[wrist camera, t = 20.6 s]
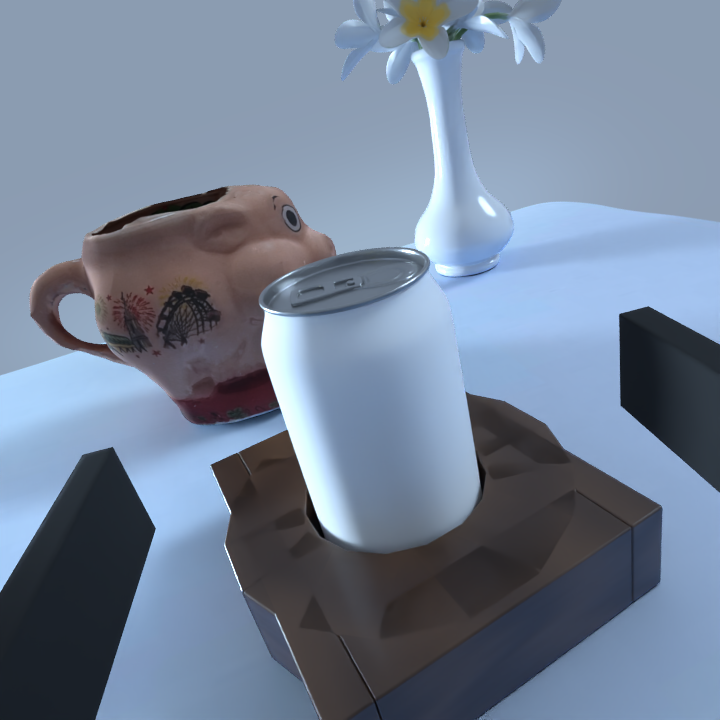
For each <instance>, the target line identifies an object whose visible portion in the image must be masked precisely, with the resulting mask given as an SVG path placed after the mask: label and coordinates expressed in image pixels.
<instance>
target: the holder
mask: <svg viewBox="0 0 720 720" xmlns="http://www.w3.org/2000/svg"><path fill="white" fill-rule="evenodd" d="M465 392H466V391H465ZM466 398H467V405H468V411H469V417H470V423H471V429H472V435H473V441H474V447H475V453H476V459H477V465H478V472H479V478H480V484H481V490H482V500H481V501H480V502H479V504H478V505H477V506H476V507H475V509H474V510H473V511H472V512H471V514H470V515H469V516H468V518H467V519H466V520H465V521H464V523H463V524H461V525H459V526H458V527H456V528H454V529H453V530H451V531H449V532H447V533H446V534H444V535H442V536H441V537H439V538H437V539H436V540H434V541H432V542H430V543H429V544H427V545H423V546H419V547H414V548H410V549H406V550H401V551H397V552H393V553H388V554H381V553H370V552H358V551H347V550H345V549H343V548H341V547H339V546H337V545H335V544H333V543H332V542H330V541H328V540H326V539H325V537H324V534H323V531H322V528H321V525H320V522H319V520H318V517H317V514H316V511H315V508H314V505H313V502H312V499H311V496H310V493H309V491H308V488H307V485H306V482H305V479H304V476H303V473H302V470H301V467H300V464H299V461H298V458H297V456H296V453H295V450H294V447H293V444H292V441H291V438H290V435H289V432H288V430H286V431H283V432H281V433H279V434H277V435H275V436H273V437H270V438H268V439H266V440H264V441H262V442H260V443H257V444H255V445H253V446H251V447H249V448H246V449H244V450H242V451H240V452H239V454H238V453H236V454H233V455H231V456H229V457H227V458H225V459H222V460H220V461H218V462H216V463H214V464H212V465H210V468H211V470H212V472H213V475H214V477H215V479H216V482H217V484H218V486H219V489H220V491H221V493H222V496H223V498H224V500H225V503H226V505H227V507H228V509H229V512H230V519H229V524H228V529H227V534H226V538H225V543H224V545H225V546H224V547H225V549H226V552H227V555H228V557H229V560H230V562H231V565H232V568H233V570H234V573H235V576H236V578H237V581H238V584H239V586H240V589H241V591H242V594H243V596H244V598H245V600H246V602H247V605H248V607H249V609H250V611H251V613H252V615H253V617H254V620H255V622H256V624H257V626H258V628H259V630H260V633H261V635H262V637H263V639H264V641H265V643H266V645H267V648H268V650H269V652H270V654H271V656H272V657H273V658H274V659H275V660H276V661H277V662H278V663H280V664H281V665H282V666H283V667H285V668H286V669H287V670H288V671H290V672H291V673H292V674H293V675H295V676H296V677H297V678H298V679H300V680H301V681H302V682H303V683H304V685H305V687H306V690H307V692H308V694H309V697H310V699H311V701H312V703H313V706H314V708H315V710H316V713H317V715H318V717H319V720H475V719H476V718H478V717H479V716H480V715H482V714H483V713H484V712H486V711H487V710H488V709H490V708H491V707H492V706H494V705H495V704H496V703H498V702H499V701H501V700H502V699H503V698H505V697H506V696H507V695H509V694H510V693H511V692H513V691H514V690H515V689H517V688H518V687H519V686H521V685H522V684H523V683H525V682H526V681H528V680H529V679H530V678H532V677H533V676H534V675H536V674H537V673H538V672H540V671H541V670H542V669H544V668H545V667H546V666H548V665H549V664H551V663H552V662H553V661H555V660H556V659H557V658H559V657H560V656H561V655H563V654H564V653H565V652H567V651H568V650H569V649H571V648H572V647H574V646H575V645H576V644H578V643H579V642H580V641H582V640H583V639H584V638H586V637H587V636H588V635H590V634H591V633H592V632H594V631H595V630H596V629H598V628H599V627H601V626H602V625H603V624H605V623H606V622H607V621H609V620H610V619H611V618H613V617H614V616H615V615H617V614H618V613H619V612H621V611H622V610H624V609H625V608H626V607H628V606H629V605H630V604H631V603H632V602H634V601H635V600H637V599H638V598H639V597H641V596H642V595H644V594H645V593H646V592H648V591H649V590H650V589H652V588H653V587H654V586H656V585H657V584H658V583H660V574H661V540H662V506H661V505H659V504H657V503H656V502H654V501H652V500H650V499H649V498H647V497H645V496H644V495H642V494H640V493H638V492H637V491H635V490H633V489H632V488H630V487H628V486H627V485H625V484H623V483H621V482H620V481H618V480H616V479H615V478H613V477H611V476H609V475H608V474H606V473H604V472H603V471H601V470H599V469H597V468H596V467H594V466H592V465H591V464H589V463H587V462H585V461H584V460H582V459H580V458H579V457H577V456H575V455H573V454H572V453H570V452H568V451H567V450H565V449H564V448H563V447H562V446H561V444H560V443H559V442H558V440H557V439H556V437H555V436H554V435H553V433H552V432H551V431H550V429H549V428H548V426H547V425H546V424H545V423H543V422H541V421H539V420H537V419H536V418H534V417H532V416H530V415H528V414H526V413H525V412H523V411H521V410H519V409H517V408H516V407H514V406H512V405H510V404H508V403H507V402H505V401H501V400H496V399H491V398H486V397H481V396H476V395H471V394H469V393H467V392H466Z"/></svg>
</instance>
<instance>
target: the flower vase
mask: <svg viewBox="0 0 720 720" xmlns="http://www.w3.org/2000/svg"><path fill="white" fill-rule="evenodd" d="M560 3H561V0H519V1H518V2H517V4H516V5H515V7H514V8H513V9H512V7H511V6H510V5H508V4H506V3H505V2H502V1H487V2H485V3H484V2H483V0H384V8H382V9H376V6H375V0H353V5H354V10H355V12H356V15H357V16H358V17H359V18H360V19H361V20H362V21H363V22H362V21H358V20H347V21H345V22H343V23H342V24H341V25H340V26H339V28H338V29H337V31H336V33H335V44H336V46H337V47H339V48H342V49H348V48H358V49H355V50H353V51H351V53H350V54H349V55H348V57H347V59H346V61H345V63H344V66H343V69H342V74H341V80H342V81H343V80H345V79H346V77H347V76H348V75H349V74H350V72H351V71H352V70H353V68H354V67H355V66H356V64H357V63H358V62H359V61H360V60H361V59H362V58H363V57H364V56H365V55H366V54H367V53H368V52H369V51H373V52H390V51H394V52H393V53H392V54H391V55H390V57H389V59H388V63H387V68H386V73H387V79H388V82H389V83H391V84H396V83H398V82H399V81H400V80H401V79H402V77H403V76H404V74H405V73H406V70H407V68H408V66H409V63H410V61H412V62H413V63H414V64H415V66H416V68H417V71H418V73H419V76H420V79H421V82H422V85H423V89H424V92H425V96H426V101H427V106H428V111H429V117H430V124H431V134H432V141H433V151H434V163H435V179H434V187H433V191H432V196H431V200H430V203H429V205H428V207H427V209H426V210H425V212H424V213H423V215H422V216H421V218H420V220H419V222H418V224H417V226H416V230H415V237H414V241H415V245H416V248H417V250H419V251H421V252H423V253H425V254H426V255H427V256H428V257H429V260H430V261H431V262H432V263H435V264H436V266H435V268H436V270H437V272H438V273H439V274H441V275H444V276H452V277H457V276H468V275H473V274H478V273H481V272H484V271H487V270H489V269H491V268H493V267H494V266H496V265H497V264H498V263H499V261H500V254H499V252H500V251H502V250H503V248H504V247H505V246H506V245H507V244H508V242H509V241H510V239H511V237H512V235H513V232H514V222H513V218H512V216H511V213H510V212H509V210H508V209H507V208H506V207H505V205H504V204H503V203H502V202H500V201H499V200H498V199H496V198H495V197H494V196H493V195H491V194H490V193H489V192H488V191H487V189H486V188H485V186H484V185H483V183H482V182H481V180H480V178H479V176H478V174H477V172H476V169H475V166H474V163H473V160H472V155H471V151H470V146H469V141H468V134H467V129H466V122H465V116H464V109H463V102H462V88H461V67H462V55H463V51H464V49H465V45H466V47H467V48H468V49H469V50H470V51H471V52H473V53H480V52H481V51H482V50H483V48H484V44H485V39H484V34H483V32H485V33H491V34H494V35H497V36H500V37H503V38H506V39H509V37H508V35H507V34H506V33H505V32H504V31H503V30H502V29H501V28H500V26H498V25H499V24H502V23H505V22H507V21H509V22H510V25H511V29H512V33H513V39H514V46H515V60H516V63H517V64H519V63H520V62H521V60H522V58H523V55H524V50H525V48H524V45H525V46H526V47H527V49H528V51H529V52H530V54H531V56H532V57H533V59H534V60H535V61H536V62H537V63H541V62H542V61H543V58H544V54H545V44H544V38H543V35H542V33H541V31H540V29H539V28H538V27H537V26H535V25H533V24H531V23H538V22H542V21H544V20H546V19H548V18H549V17H550V16H552V15H553V14H554V12H555V11H556V10H557V8H558V7H559V5H560ZM376 11H378V12H382V13H385V14H386V16H387V18H388V20H389V22H388V23H387V24H386V25H385V26H380V24H379V20H378V17H377V12H376ZM460 38H462V39H460Z"/></svg>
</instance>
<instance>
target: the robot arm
mask: <svg viewBox="0 0 720 720" xmlns="http://www.w3.org/2000/svg"><path fill="white" fill-rule="evenodd" d="M619 328H620V399H621V406H622V407H623V408H624V409H625V410H626V411H627V412H629V413H630V414H631V415H632V416H633V417H634V418H635V419H637V420H638V421H639V422H640V423H641V424H642V425H643V426H644V427H646V428H647V429H648V430H649V431H650V432H651V433H652V434H654V435H655V436H656V437H657V438H658V439H659V440H660V441H662V442H663V443H664V444H665V445H666V446H667V447H668V448H670V449H671V450H672V451H673V452H674V453H675V454H676V455H678V456H679V457H680V458H681V459H682V460H683V461H684V462H685V463H687V464H688V465H689V466H690V467H691V468H692V469H693V470H695V471H696V472H697V473H698V474H699V475H700V476H701V477H703V478H704V479H705V480H706V481H707V482H708V483H709V484H711V485H712V486H713V487H714V488H715V489H716V490H717V491H719V492H720V344H718V343H716V342H714V341H712V340H710V339H708V338H706V337H705V336H703V335H701V334H699V333H697V332H695V331H693V330H692V329H690V328H688V327H686V326H684V325H682V324H680V323H678V322H677V321H675V320H673V319H671V318H669V317H667V316H665V315H664V314H662V313H660V312H658V311H656V310H654V309H652V308H650V307H649V306H648V307H644V308H641V309H637V310H633V311H629V312H625V313H621V314H619ZM155 529H156V528H155V526H154V525H153V523H152V521H151V519H150V517H149V515H148V513H147V511H146V509H145V507H144V506H143V504H142V502H141V500H140V498H139V496H138V494H137V492H136V490H135V488H134V487H133V485H132V483H131V481H130V479H129V477H128V475H127V473H126V471H125V469H124V468H123V466H122V464H121V462H120V460H119V458H118V456H117V454H116V452H115V450H114V449H113V447H111V448H107V449H104V450H100V451H96V452H92V453H88V454H84V455H82V457H81V459H80V460H79V462H78V464H77V465H76V467H75V469H74V470H73V472H72V474H71V475H70V477H69V479H68V480H67V482H66V484H65V485H64V487H63V489H62V490H61V492H60V494H59V495H58V497H57V499H56V500H55V502H54V504H53V505H52V507H51V509H50V510H49V512H48V514H47V515H46V517H45V519H44V520H43V522H42V524H41V525H40V527H39V529H38V530H37V532H36V534H35V535H34V537H33V539H32V540H31V542H30V544H29V545H28V547H27V549H26V550H25V552H24V554H23V555H22V557H21V559H20V560H19V562H18V564H17V565H16V567H15V569H14V570H13V572H12V574H11V575H10V577H9V579H8V580H7V582H6V584H5V585H4V587H3V589H2V590H1V592H0V720H95V718H96V715H97V712H98V709H99V706H100V703H101V699H102V696H103V693H104V690H105V687H106V684H107V681H108V677H109V674H110V671H111V668H112V665H113V662H114V658H115V655H116V652H117V649H118V646H119V643H120V640H121V636H122V633H123V630H124V627H125V624H126V621H127V618H128V614H129V611H130V608H131V605H132V602H133V599H134V595H135V592H136V589H137V586H138V583H139V580H140V577H141V573H142V570H143V567H144V564H145V561H146V558H147V555H148V551H149V548H150V545H151V542H152V539H153V536H154V533H155Z"/></svg>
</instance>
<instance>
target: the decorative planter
mask: <svg viewBox="0 0 720 720" xmlns="http://www.w3.org/2000/svg"><path fill="white" fill-rule="evenodd" d="M333 256H336V250H335V246H334V244H333V242H332V240H331V239H330V238H329V237H327V236H326V235H325V234H322V233H319V232H317V231H315V230H312V229H311V228H310V227H308V226H307V225H306V224H305V223H304V222H303V220H302V219H301V217H300V216H299V214H298V212H297V210H296V208H295V207H294V205H293V203H292V201H291V200H290V198H289V197H288V196H287V195H286V194H285V193H284V192H283V191H282V190H280V189H279V188H276V187H268V186H260V185H243V186H227V187H222V188H218V189H215V190H211V191H208V192H206V193H203V194H197V195H193V196H189V197H184V198H180V199H176V200H172V201H167V202H162V203H158V204H154V205H150V206H147V207H144V208H141V209H139V210H136V211H133V212H131V213H128V214H126V215H124V216H121V217H119V218H117V219H114V220H112V221H110V222H107V223H106V224H104V225H102V226H100V227H99V228H97V229H96V230H94V231H92V232H90V233H87V234H86V235H85V238H84V242H83V248H82V258H80V259H76V260H72V261H66V262H63V263H60V264H57V265H54V266H52V267H51V268H50V269H48V270H46V271H45V272H44V273H42V274H41V275H40V276H39V277H38V278H37V279H36V280H35V282H34V283H33V285H32V287H31V291H30V311H31V317H32V318H33V319H34V321H35V322H36V323H37V325H38V326H39V327H40V329H41V330H42V331H43V332H44V333H45V334H46V335H47V336H48V337H50V338H51V339H52V340H53V341H54V342H55V343H57V344H58V345H60V346H62V347H65V348H69V349H72V350H78V351H83V352H86V353H89V354H92V355H95V356H99V357H102V358H106V359H108V360H110V361H113V362H116V363H120V364H125V365H128V366H131V367H135V368H137V369H138V370H140V371H141V372H143V373H144V374H145V375H147V376H148V377H149V378H150V379H152V380H153V381H154V382H155V383H156V384H158V385H159V386H160V387H161V388H162V389H163V390H164V391H165V392H166V393H167V394H168V395H169V397H170V398H171V399H172V400H173V401H174V402H175V403H176V404H177V405H178V407H179V408H180V410H181V412H182V414H183V415H184V417H185V418H186V419H187V420H189V421H190V422H191V423H194V424H199V425H215V424H226V423H233V422H238V421H242V420H245V419H248V418H251V417H254V416H258V415H261V414H264V413H268V412H271V411H273V410H276V409H278V408H280V406H279V403H278V400H277V397H276V394H275V391H274V388H273V385H272V382H271V379H270V376H269V373H268V369H267V366H266V363H265V360H264V356H263V352H262V347H261V340H262V331H263V325H264V318H265V311H264V310H263V309H262V308H261V306H260V304H259V297H260V294H261V293H262V291H263V290H264V289H265V288H266V287H267V286H268V285H269V284H271V283H272V282H273V281H275V280H276V279H278V278H280V277H281V276H283V275H285V274H287V273H289V272H291V271H293V270H295V269H298V268H300V267H302V266H305V265H308V264H310V263H313V262H316V261H319V260H322V259H326V258H329V257H333ZM72 293H82V294H86V295H88V296H90V297H92V298H93V299H94V300H95V317H96V322H97V326H98V328H99V331H100V333H101V335H102V337H103V339H104V340H105V342H106V344H93V343H87V342H84V341H81V340H79V339H77V338H76V337H74V336H72V335H71V334H70V333H69V332H67V331H66V330H65V329H64V327H63V326H62V324H61V321H60V318H59V311H58V306H59V303H60V301H61V300H62V298H63V297H65V296H66V295H68V294H72Z"/></svg>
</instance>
